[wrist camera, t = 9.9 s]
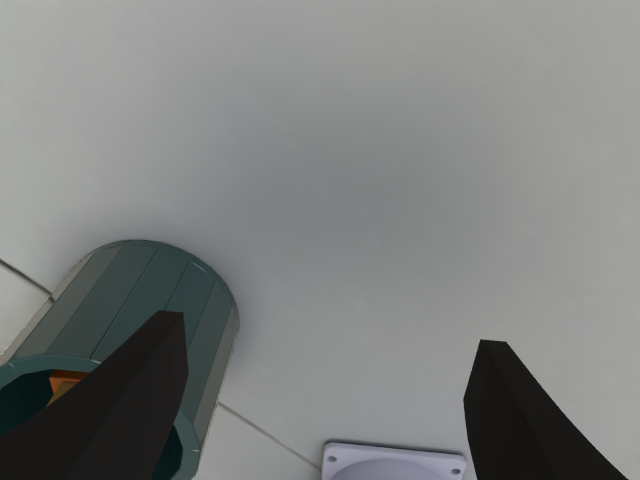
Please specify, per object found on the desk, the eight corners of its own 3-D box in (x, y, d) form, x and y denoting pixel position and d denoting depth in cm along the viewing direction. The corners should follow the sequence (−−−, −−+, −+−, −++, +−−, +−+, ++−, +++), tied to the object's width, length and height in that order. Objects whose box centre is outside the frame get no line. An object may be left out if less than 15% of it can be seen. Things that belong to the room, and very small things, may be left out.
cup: (240, 382, 28) (205, 517, 22) (82, 366, 29) (2, 496, 22) (238, 248, 24) (194, 368, 18) (52, 231, 24) (-59, 344, 18)
